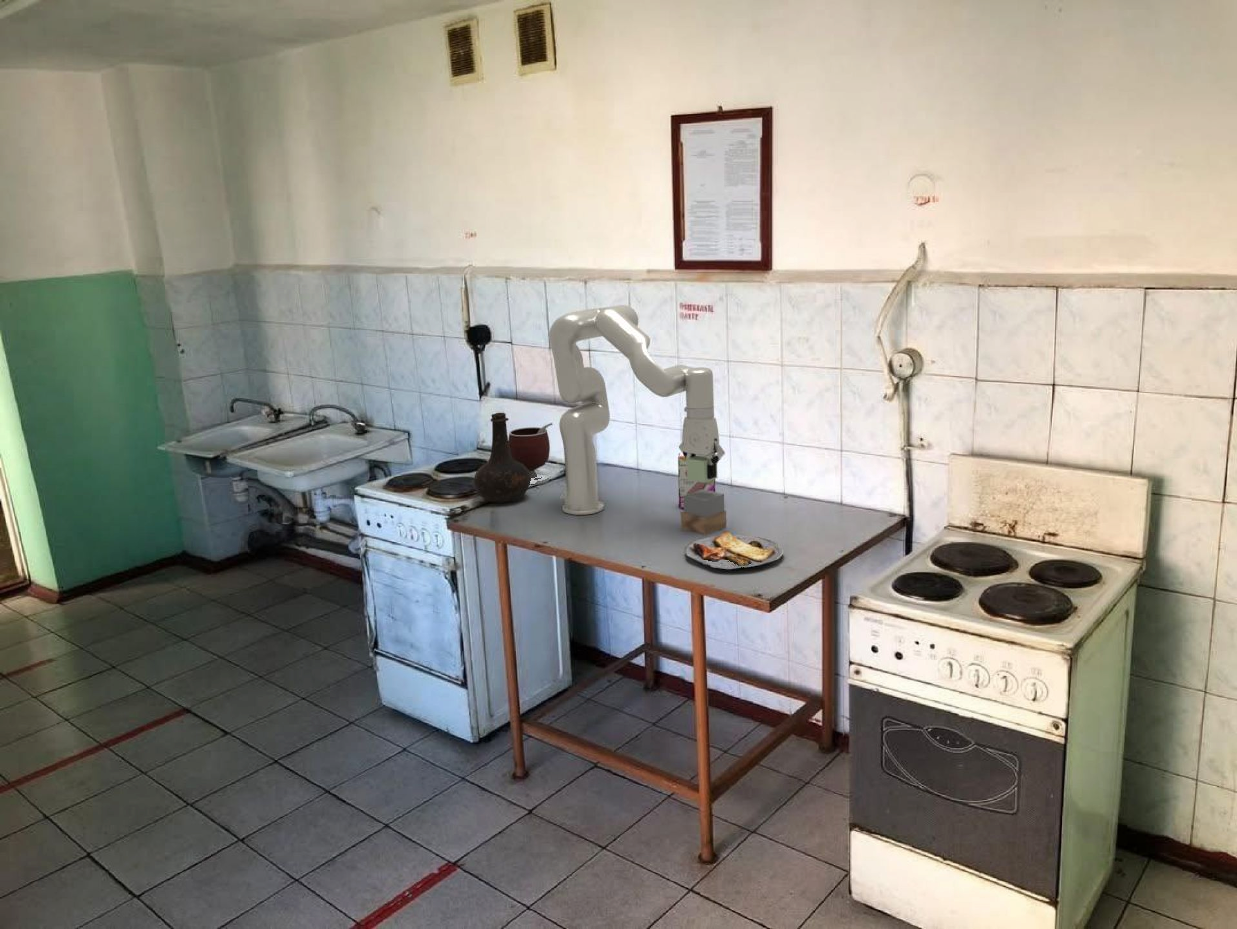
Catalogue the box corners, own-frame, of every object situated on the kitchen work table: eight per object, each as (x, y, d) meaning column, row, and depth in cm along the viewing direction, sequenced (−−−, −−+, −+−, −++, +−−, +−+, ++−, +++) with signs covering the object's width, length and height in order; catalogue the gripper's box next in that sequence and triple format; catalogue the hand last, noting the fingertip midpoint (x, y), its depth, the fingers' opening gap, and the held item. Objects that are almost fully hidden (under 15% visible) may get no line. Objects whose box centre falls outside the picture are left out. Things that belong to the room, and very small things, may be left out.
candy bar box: (678, 509, 301) (677, 456, 297) (679, 504, 306) (677, 452, 302) (716, 508, 300) (715, 455, 296) (716, 503, 305) (715, 451, 300)
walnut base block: (681, 529, 283) (680, 512, 282) (702, 521, 289) (701, 505, 288) (705, 535, 277) (705, 518, 276) (726, 527, 283) (726, 510, 282)
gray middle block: (684, 512, 282) (683, 495, 280) (702, 506, 287) (702, 489, 286) (705, 517, 276) (705, 500, 275) (724, 511, 281) (724, 493, 280)
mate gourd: (506, 485, 335) (501, 427, 330) (517, 474, 349) (512, 418, 344) (551, 486, 333) (547, 427, 328) (560, 474, 346) (556, 418, 341)
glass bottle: (469, 507, 313) (461, 420, 306) (483, 491, 330) (476, 408, 323) (525, 507, 310) (519, 419, 303) (536, 491, 327) (531, 407, 320)
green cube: (687, 479, 279) (686, 458, 278) (700, 474, 283) (699, 454, 282) (704, 482, 275) (703, 461, 274) (717, 477, 279) (716, 457, 278)
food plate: (667, 554, 263) (667, 541, 262) (734, 535, 275) (734, 523, 275) (731, 582, 243) (731, 569, 242) (800, 561, 256) (800, 548, 255)
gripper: (667, 412, 278) (670, 475, 282) (716, 418, 266) (718, 483, 271) (684, 407, 283) (686, 469, 287) (733, 413, 271) (735, 477, 276)
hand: (702, 475), depth 279 cm, fingers closed on green cube, 6 cm apart
